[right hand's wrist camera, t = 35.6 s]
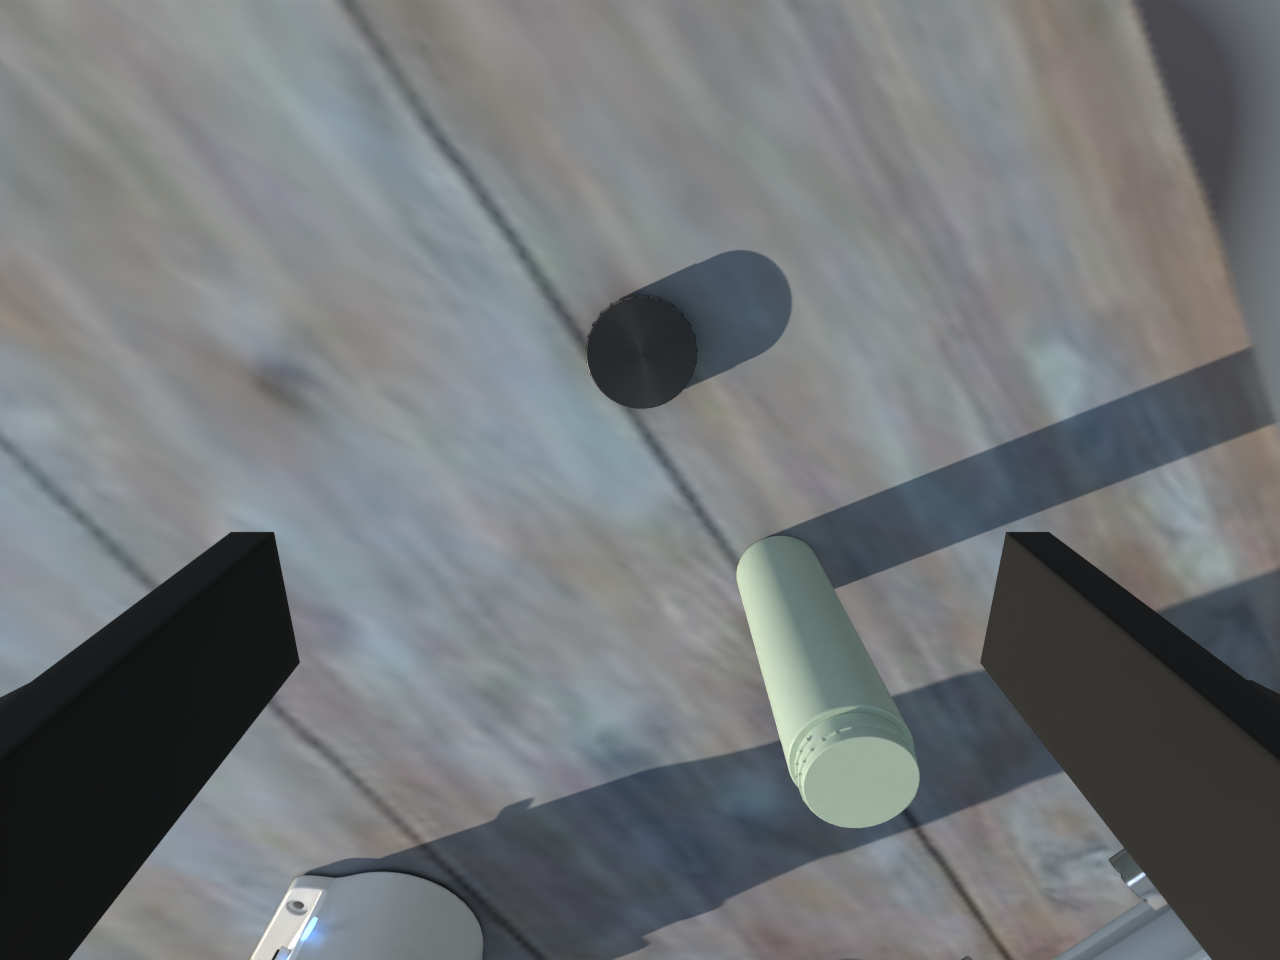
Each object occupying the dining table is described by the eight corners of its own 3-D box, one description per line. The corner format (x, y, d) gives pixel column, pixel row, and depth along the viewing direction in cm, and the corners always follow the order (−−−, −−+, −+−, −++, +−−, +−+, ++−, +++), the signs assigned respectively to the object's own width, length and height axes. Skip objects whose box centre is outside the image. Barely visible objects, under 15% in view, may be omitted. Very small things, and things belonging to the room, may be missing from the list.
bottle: (722, 590, 46) (771, 808, 29) (761, 522, 44) (838, 711, 27) (793, 620, 47) (882, 850, 29) (834, 554, 45) (954, 758, 28)
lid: (713, 374, 41) (716, 380, 39) (617, 420, 42) (616, 428, 40) (667, 273, 39) (668, 275, 37) (567, 325, 40) (564, 329, 38)
